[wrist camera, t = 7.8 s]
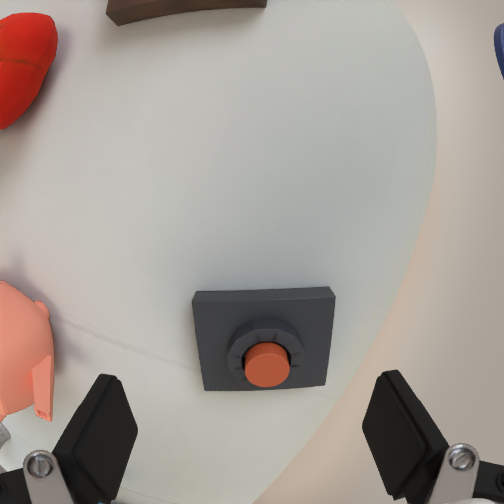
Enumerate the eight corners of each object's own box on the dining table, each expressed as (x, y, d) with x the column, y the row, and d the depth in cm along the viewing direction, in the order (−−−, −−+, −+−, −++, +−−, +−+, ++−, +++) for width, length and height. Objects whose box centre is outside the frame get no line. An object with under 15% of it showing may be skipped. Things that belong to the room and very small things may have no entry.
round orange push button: (288, 340, 23) (290, 352, 21) (286, 373, 24) (288, 386, 22) (243, 342, 23) (243, 354, 21) (245, 375, 24) (245, 388, 22)
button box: (329, 286, 26) (342, 305, 22) (320, 372, 28) (329, 397, 25) (195, 291, 26) (187, 311, 22) (206, 377, 28) (202, 403, 24)
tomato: (41, 11, 17) (-1, -14, 8) (92, 44, 19) (43, 11, 11) (-21, 105, 19) (-69, 101, 11) (17, 156, 22) (-42, 159, 13)
